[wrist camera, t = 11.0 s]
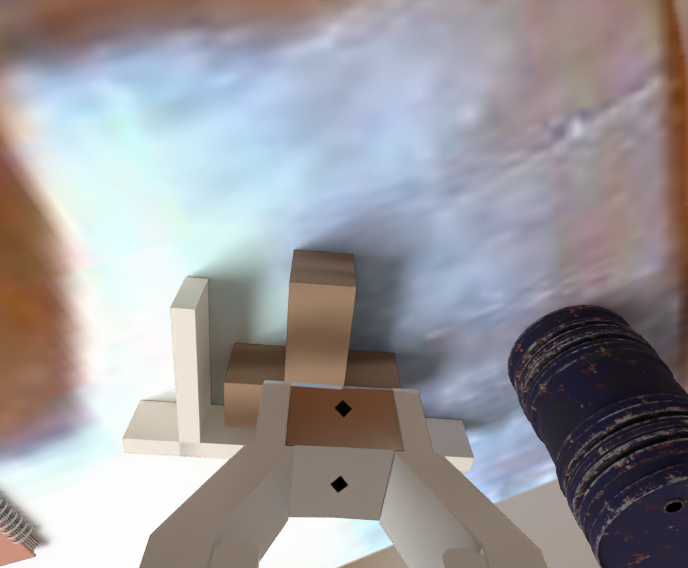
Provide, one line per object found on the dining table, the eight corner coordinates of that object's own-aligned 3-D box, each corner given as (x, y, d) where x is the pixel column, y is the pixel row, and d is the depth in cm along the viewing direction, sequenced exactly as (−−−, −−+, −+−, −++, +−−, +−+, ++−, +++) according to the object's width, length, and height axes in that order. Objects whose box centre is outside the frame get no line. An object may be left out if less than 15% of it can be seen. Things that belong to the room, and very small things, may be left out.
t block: (233, 245, 34) (221, 277, 30) (411, 258, 35) (421, 291, 31) (234, 384, 40) (224, 426, 36) (386, 393, 40) (393, 435, 36)
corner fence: (125, 271, 34) (103, 302, 31) (497, 301, 36) (515, 333, 33) (141, 414, 41) (124, 453, 37) (457, 433, 43) (469, 471, 39)
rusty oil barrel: (652, 369, 40) (809, 548, 27) (538, 424, 43) (631, 611, 30) (607, 279, 36) (768, 439, 23) (483, 346, 38) (564, 524, 25)
